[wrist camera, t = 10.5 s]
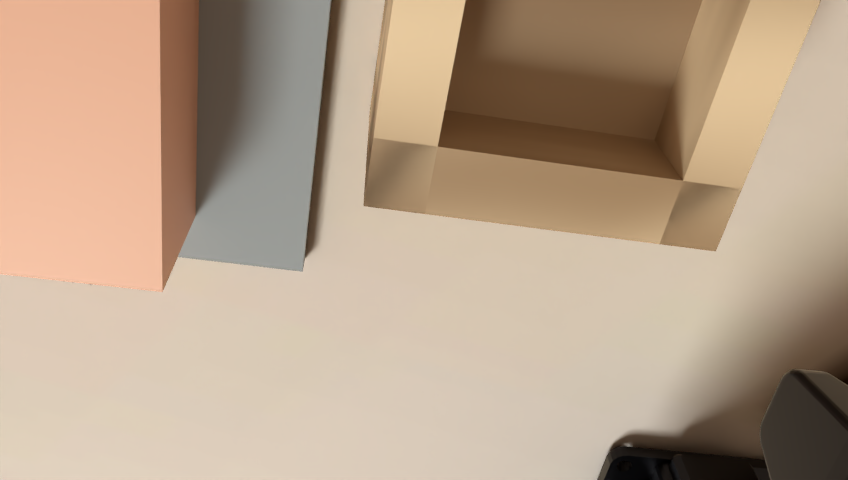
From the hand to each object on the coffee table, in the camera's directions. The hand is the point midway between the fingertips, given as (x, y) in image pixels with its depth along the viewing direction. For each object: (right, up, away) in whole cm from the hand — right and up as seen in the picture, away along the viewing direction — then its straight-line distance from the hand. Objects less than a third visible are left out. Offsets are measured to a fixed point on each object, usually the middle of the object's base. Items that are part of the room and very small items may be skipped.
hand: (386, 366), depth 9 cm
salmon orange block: (-7, +6, +10) cm, 13 cm away
